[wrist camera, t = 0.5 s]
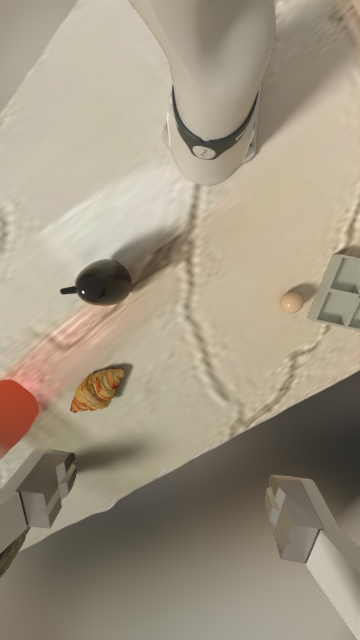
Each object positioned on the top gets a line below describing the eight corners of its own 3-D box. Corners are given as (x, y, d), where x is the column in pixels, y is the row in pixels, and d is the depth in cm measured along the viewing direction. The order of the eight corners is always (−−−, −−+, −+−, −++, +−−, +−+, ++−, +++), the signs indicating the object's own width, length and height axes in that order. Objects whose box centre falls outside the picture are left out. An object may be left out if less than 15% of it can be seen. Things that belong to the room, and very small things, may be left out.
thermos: (32, 468, 72) (-108, 649, 39) (54, 454, 70) (-76, 636, 36) (50, 484, 74) (-68, 670, 40) (72, 471, 71) (-35, 659, 38)
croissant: (121, 354, 61) (102, 356, 53) (138, 384, 58) (121, 390, 50) (76, 393, 65) (52, 399, 58) (89, 422, 62) (66, 433, 55)
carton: (332, 254, 46) (341, 254, 43) (398, 268, 46) (412, 269, 43) (306, 317, 50) (313, 321, 47) (366, 330, 50) (377, 334, 47)
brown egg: (280, 288, 49) (289, 292, 44) (300, 293, 49) (311, 296, 44) (273, 308, 50) (281, 313, 45) (293, 312, 50) (303, 317, 45)
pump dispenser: (90, 261, 50) (47, 263, 35) (131, 256, 49) (105, 256, 34) (99, 302, 53) (63, 319, 38) (139, 298, 52) (117, 314, 37)
